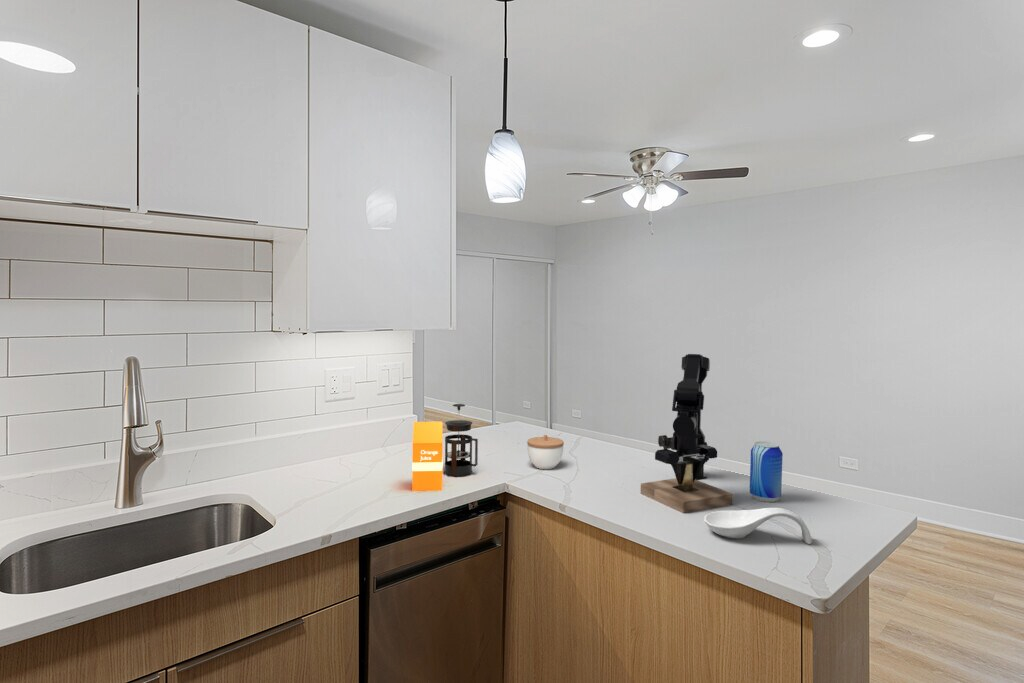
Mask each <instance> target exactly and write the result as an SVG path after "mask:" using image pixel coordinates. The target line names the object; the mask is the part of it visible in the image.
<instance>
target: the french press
mask: <svg viewBox="0 0 1024 683" xmlns="http://www.w3.org/2000/svg"><path fill="white" fill-rule="evenodd" d="M452 406H453V407H456V409H457V414H458V415H457V417H458V418H457V419H458V420H457V419H454V420H448V421H445V422H444V425H446V429H447V431H448V432H455V433H457V434H449V435H446V436H445V437H444V443H445V444H444V471H443V474H444V476H447V477H450V478H451V477H452V478H464V477H468V476H471V475H472V474H473V467H477V466H478V461H479V460H478V458H479V456H478V453H479V452H478V451H479V449H478V446H479V439H478V438H473V436H472V435H469V434H460V432H468V431H471V429H472V425H473V422H472V421H471V420H464V419H460V411H461V407H465V406H466V404H464V403H455V404H452ZM473 441H475V442H474V445H475V448H474V463H473ZM448 444H449V445H451V448H450V449H451V450H450V451H449V450H448V448H449V447H448ZM466 444H469V451H466ZM448 451H449V452H448ZM468 458H469V460H466V459H468ZM449 459H451V460H449Z"/></svg>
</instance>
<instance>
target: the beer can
mask: <svg viewBox="0 0 1024 683" xmlns="http://www.w3.org/2000/svg"><path fill="white" fill-rule="evenodd" d="M752 446H753V447H752V448H751V449H750V465H749V466H750V469H749V493H750V495H751V497H752V498H753V499H754V498H755V499H754V500H756V499H757V501H759V500H761V501H760V502H764V501H766V502H765V503H774V502H775V501H776V502H778V501H779V500H780V498H781V497H782V482H783V480H782V479H783V451H782V449H781V448H780V444H778V443H776V442H771V441H755V442H754V445H752ZM776 502H775V503H776Z"/></svg>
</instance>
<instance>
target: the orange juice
mask: <svg viewBox="0 0 1024 683" xmlns="http://www.w3.org/2000/svg"><path fill="white" fill-rule="evenodd" d="M412 429H413V432H412V462H411V463H412V464H411V465H412V466H411V467H412V483H411V484H412V485H411V486H412V492H427V491H428V492H432V491H434V492H435V491H437V492H439V491H443V469H444V468H443V464H444V463H443V459H444V457H443V454H444V453H443V452H444V449H443V448H444V447H443V441H444V439H443V438H444V436H443V421H413V428H412Z"/></svg>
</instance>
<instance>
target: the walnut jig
mask: <svg viewBox="0 0 1024 683" xmlns="http://www.w3.org/2000/svg"><path fill="white" fill-rule="evenodd" d="M640 494H641V495H642V496H645V497H647V498H650V499H651V500H653V501H655V502H658V503H659V504H660V503H661V504H662V505H664V506H666V507H669V508H671V509H674V510H676V511H678V512H679V513H682V514H686V513H687V514H688V513H692V511H693V512H697V511H703V510H707V509H713V508H718V507H719V506H720V507H724V506H729V504H731V505H733V500H734V499H733V498H734V497H733V495H734V493H732V492H729V491H727V490H725V489H721V488H718V487H716V486H714V485H710V484H708V483H706V482H703V481H700V480H699V479H696V480H694V482H693V491H691V492H682V491H680V490H678V482H677V479H676V477H675V478H669V479H662V480H656V481H649V482H643V483H642V482H641V483H640Z"/></svg>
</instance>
